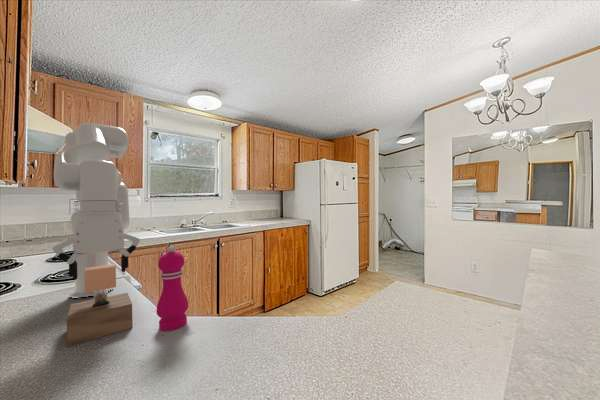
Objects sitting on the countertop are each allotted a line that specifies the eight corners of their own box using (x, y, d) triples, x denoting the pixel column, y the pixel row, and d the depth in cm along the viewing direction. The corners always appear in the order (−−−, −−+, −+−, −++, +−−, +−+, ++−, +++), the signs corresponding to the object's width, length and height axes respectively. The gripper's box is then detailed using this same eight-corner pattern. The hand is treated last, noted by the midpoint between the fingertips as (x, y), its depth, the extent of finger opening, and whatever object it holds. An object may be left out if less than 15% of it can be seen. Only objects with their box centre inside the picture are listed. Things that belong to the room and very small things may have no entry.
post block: (71, 327, 63) (70, 304, 64) (127, 313, 71) (127, 292, 71) (67, 346, 54) (66, 319, 54) (132, 327, 62) (132, 303, 62)
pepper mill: (175, 333, 58) (173, 248, 59) (149, 331, 60) (147, 248, 60) (194, 319, 65) (192, 243, 66) (171, 318, 67) (168, 243, 67)
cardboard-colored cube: (85, 287, 63) (85, 268, 64) (114, 282, 67) (114, 263, 67) (84, 293, 59) (84, 271, 59) (116, 287, 63) (115, 267, 63)
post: (94, 307, 63) (93, 271, 63) (107, 304, 65) (106, 269, 65) (94, 310, 61) (93, 273, 61) (107, 306, 63) (107, 271, 63)
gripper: (137, 207, 72) (138, 266, 72) (54, 209, 61) (55, 279, 61) (140, 207, 66) (142, 270, 66) (49, 209, 55) (50, 286, 55)
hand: (100, 274), depth 63 cm, fingers open, 9 cm apart
